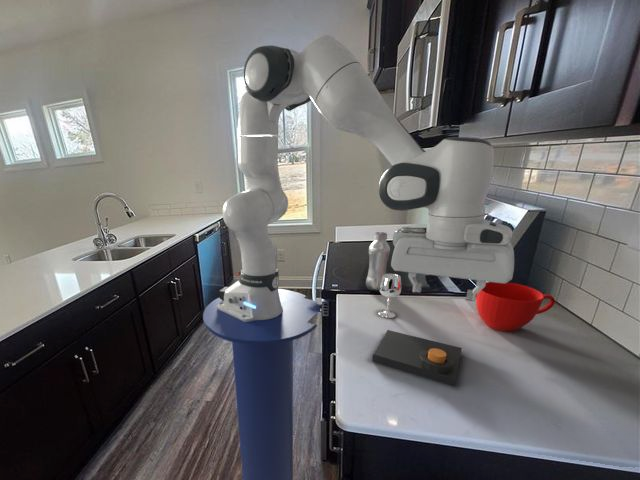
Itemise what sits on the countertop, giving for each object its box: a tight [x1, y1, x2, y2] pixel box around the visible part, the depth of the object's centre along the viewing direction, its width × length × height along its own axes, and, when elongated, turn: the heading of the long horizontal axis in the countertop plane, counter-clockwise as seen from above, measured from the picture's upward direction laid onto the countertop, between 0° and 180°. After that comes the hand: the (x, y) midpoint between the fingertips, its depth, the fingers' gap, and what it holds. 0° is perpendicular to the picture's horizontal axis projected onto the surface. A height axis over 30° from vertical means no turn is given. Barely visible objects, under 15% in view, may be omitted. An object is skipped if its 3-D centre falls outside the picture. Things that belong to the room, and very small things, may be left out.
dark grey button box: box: [371, 329, 463, 387], centre depth 72 cm, size 16×13×4 cm
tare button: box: [428, 348, 447, 364], centre depth 67 cm, size 3×3×2 cm
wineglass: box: [378, 273, 403, 319], centre depth 91 cm, size 6×6×12 cm
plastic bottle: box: [365, 231, 391, 292], centre depth 107 cm, size 6×7×20 cm
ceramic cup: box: [475, 281, 556, 332], centre depth 82 cm, size 13×17×10 cm
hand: (442, 295), depth 65 cm, fingers open, 8 cm apart
